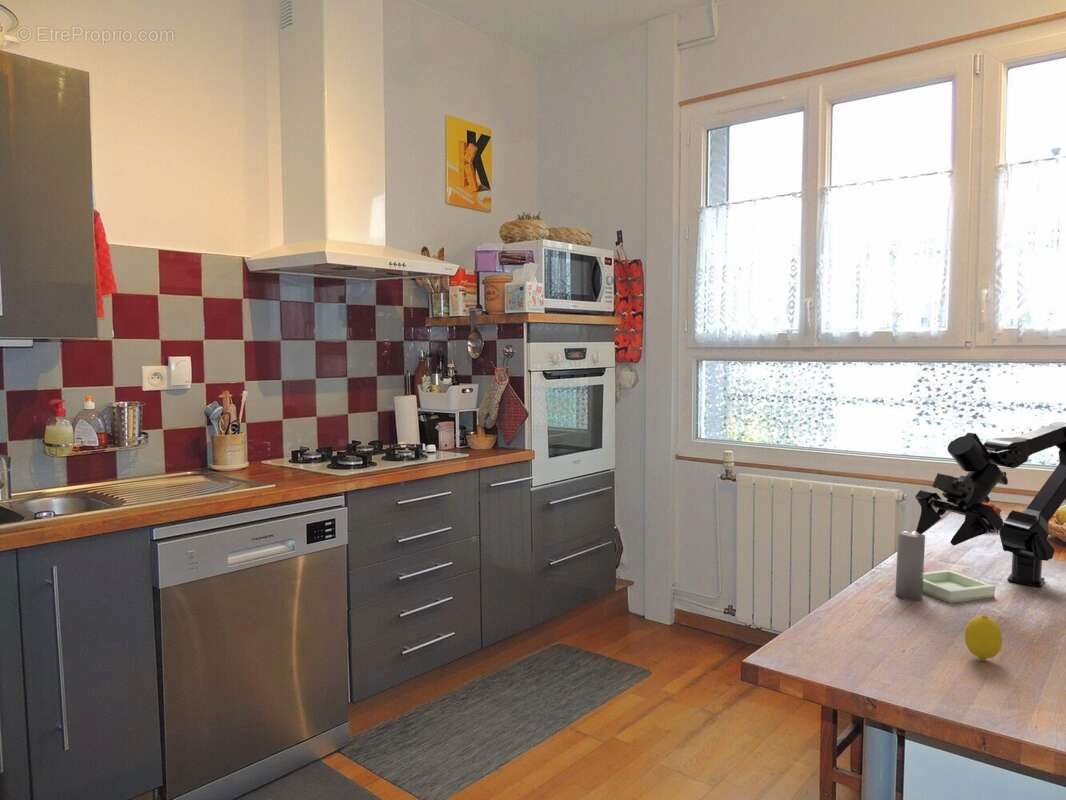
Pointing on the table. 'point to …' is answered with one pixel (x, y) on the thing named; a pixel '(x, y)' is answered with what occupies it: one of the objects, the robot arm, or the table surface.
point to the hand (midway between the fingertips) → (934, 538)
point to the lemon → (983, 637)
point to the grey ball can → (910, 565)
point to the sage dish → (955, 587)
